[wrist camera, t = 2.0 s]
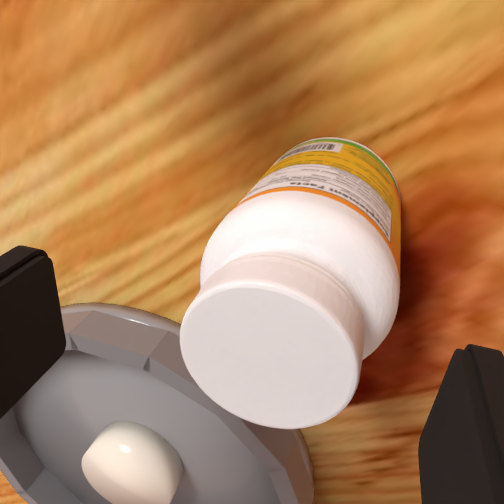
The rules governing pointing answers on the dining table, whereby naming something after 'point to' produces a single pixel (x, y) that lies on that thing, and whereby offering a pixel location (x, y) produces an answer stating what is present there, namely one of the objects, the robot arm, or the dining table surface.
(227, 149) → the dining table surface
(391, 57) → the dining table surface
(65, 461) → the ring tray
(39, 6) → the dining table surface
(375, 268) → the supplement bottle
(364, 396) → the dining table surface
